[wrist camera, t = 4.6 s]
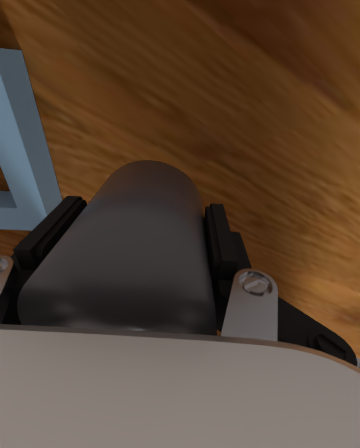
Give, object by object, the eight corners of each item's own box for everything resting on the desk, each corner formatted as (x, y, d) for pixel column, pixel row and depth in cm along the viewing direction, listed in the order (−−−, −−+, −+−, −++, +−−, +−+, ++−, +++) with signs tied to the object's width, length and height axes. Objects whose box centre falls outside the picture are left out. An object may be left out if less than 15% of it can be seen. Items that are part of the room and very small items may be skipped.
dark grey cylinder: (208, 163, 11) (232, 262, 5) (197, 253, 14) (205, 382, 8) (92, 157, 11) (-18, 249, 5) (106, 248, 14) (47, 374, 8)
